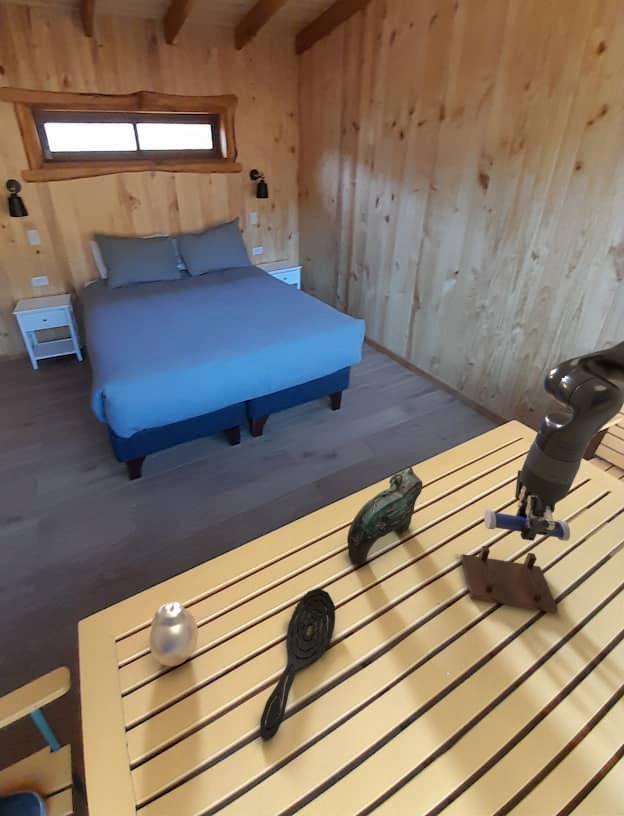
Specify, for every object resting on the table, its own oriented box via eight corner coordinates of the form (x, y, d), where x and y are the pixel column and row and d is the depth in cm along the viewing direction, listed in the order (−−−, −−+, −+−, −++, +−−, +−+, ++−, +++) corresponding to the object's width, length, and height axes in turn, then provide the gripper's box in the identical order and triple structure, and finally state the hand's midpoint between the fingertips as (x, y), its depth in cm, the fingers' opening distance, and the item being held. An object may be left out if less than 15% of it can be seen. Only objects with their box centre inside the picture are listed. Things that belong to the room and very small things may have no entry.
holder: (537, 570, 88) (547, 550, 85) (556, 613, 80) (567, 593, 77) (460, 558, 91) (466, 538, 88) (470, 598, 83) (477, 578, 80)
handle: (557, 528, 80) (563, 516, 79) (566, 545, 77) (572, 532, 76) (482, 517, 83) (487, 505, 81) (487, 532, 80) (492, 520, 78)
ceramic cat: (399, 512, 102) (410, 453, 93) (420, 531, 97) (434, 470, 88) (340, 552, 93) (347, 490, 84) (360, 575, 88) (370, 512, 79)
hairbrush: (241, 715, 65) (306, 577, 83) (242, 724, 67) (305, 587, 85) (286, 750, 61) (343, 598, 80) (286, 759, 63) (342, 608, 81)
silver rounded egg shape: (203, 619, 80) (198, 589, 76) (196, 675, 72) (190, 646, 67) (158, 619, 81) (151, 589, 76) (146, 676, 72) (137, 646, 68)
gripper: (593, 501, 65) (559, 567, 73) (556, 443, 78) (530, 505, 85) (542, 494, 67) (514, 559, 75) (514, 438, 79) (492, 499, 87)
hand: (523, 530), depth 80 cm, fingers closed on handle, 3 cm apart
